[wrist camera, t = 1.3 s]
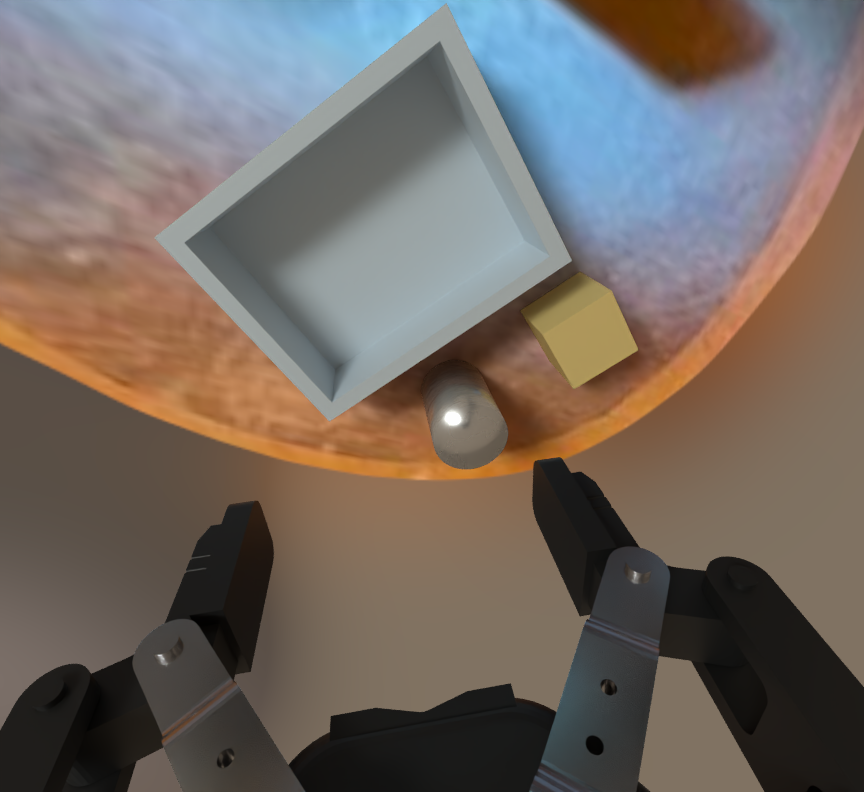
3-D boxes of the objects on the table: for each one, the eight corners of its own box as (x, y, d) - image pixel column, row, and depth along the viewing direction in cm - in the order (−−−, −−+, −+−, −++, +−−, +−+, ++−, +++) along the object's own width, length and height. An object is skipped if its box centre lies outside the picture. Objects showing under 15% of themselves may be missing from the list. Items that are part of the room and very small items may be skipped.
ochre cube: (579, 271, 34) (611, 290, 30) (605, 324, 37) (638, 350, 32) (519, 310, 35) (542, 334, 31) (548, 360, 37) (573, 389, 33)
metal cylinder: (463, 348, 36) (484, 391, 30) (495, 394, 38) (520, 443, 32) (408, 383, 37) (418, 433, 31) (443, 427, 39) (458, 481, 33)
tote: (430, 27, 26) (446, 2, 21) (540, 242, 33) (572, 260, 28) (187, 221, 29) (154, 237, 24) (333, 383, 36) (329, 421, 31)
